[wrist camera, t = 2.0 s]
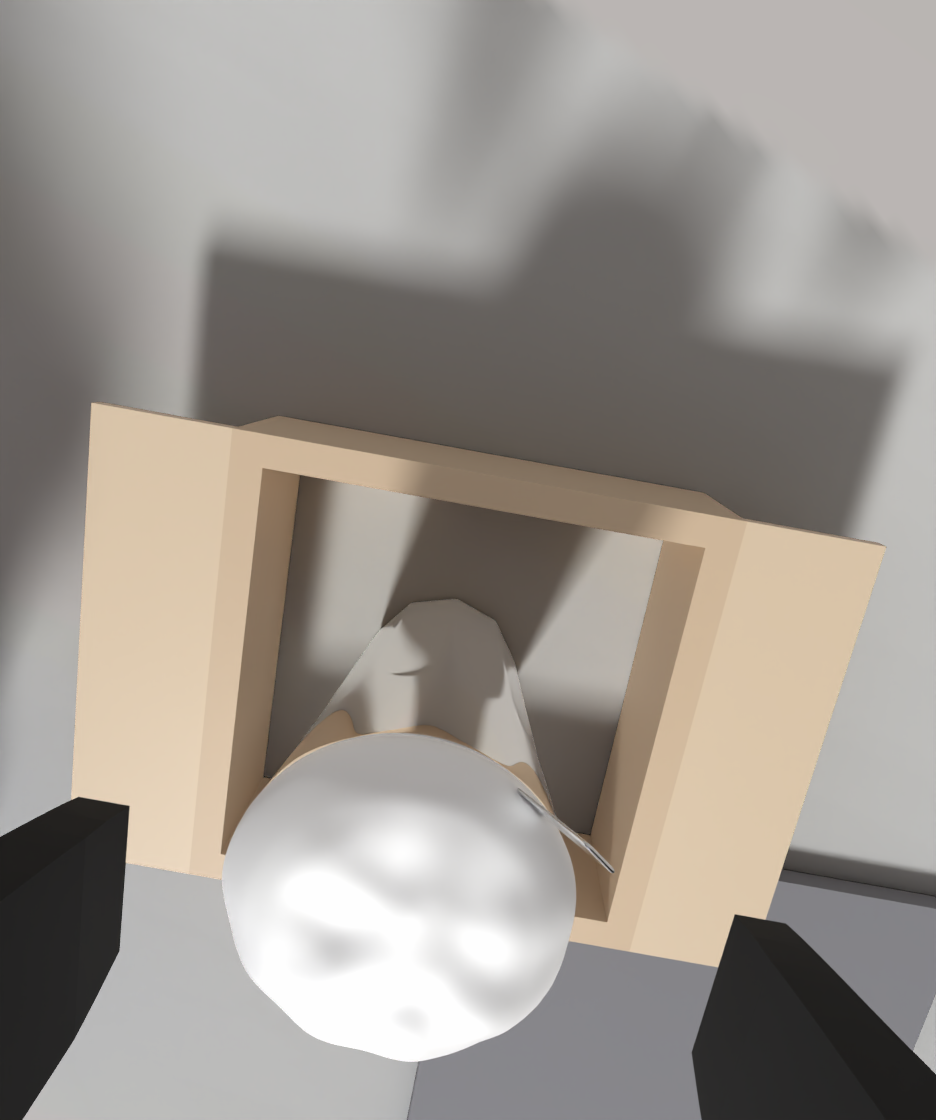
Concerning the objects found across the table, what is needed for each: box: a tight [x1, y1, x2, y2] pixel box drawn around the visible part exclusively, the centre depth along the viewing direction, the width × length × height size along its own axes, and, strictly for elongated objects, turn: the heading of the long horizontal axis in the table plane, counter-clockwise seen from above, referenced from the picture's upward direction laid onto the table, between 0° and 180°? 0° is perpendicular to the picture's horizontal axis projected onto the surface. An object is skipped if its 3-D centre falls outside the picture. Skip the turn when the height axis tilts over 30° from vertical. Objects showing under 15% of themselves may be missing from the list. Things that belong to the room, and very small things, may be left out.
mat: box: [407, 869, 936, 1120], centre depth 20 cm, size 12×12×1 cm
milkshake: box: [222, 599, 615, 1062], centre depth 13 cm, size 5×5×10 cm
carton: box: [71, 402, 886, 967], centre depth 16 cm, size 9×14×3 cm, turn 80°
